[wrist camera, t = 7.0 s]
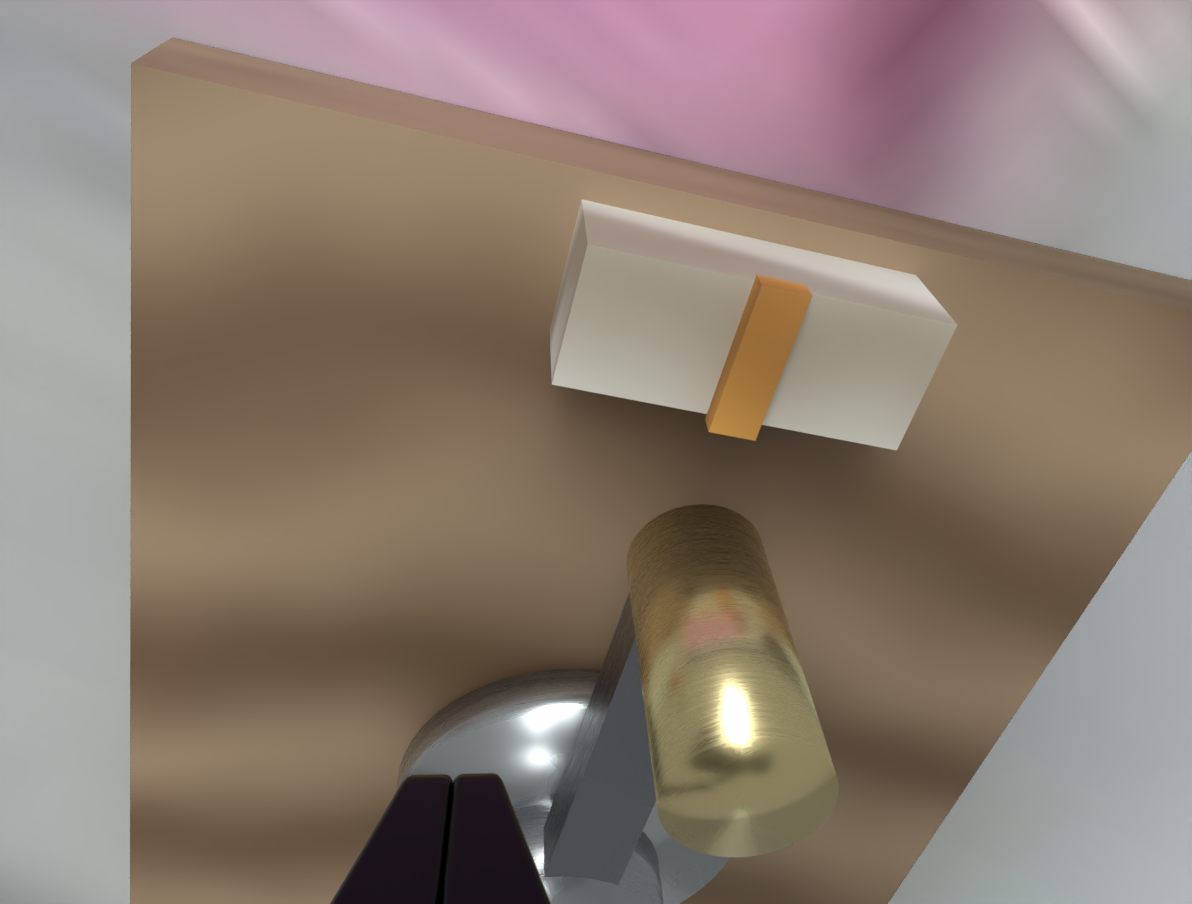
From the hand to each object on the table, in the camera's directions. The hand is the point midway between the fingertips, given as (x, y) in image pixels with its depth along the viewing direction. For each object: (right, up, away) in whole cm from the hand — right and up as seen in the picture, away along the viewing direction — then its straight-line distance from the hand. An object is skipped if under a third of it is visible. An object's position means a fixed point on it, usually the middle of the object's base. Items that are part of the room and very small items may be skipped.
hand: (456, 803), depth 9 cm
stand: (+1, -2, +15) cm, 16 cm away
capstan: (+1, -2, +13) cm, 13 cm away
